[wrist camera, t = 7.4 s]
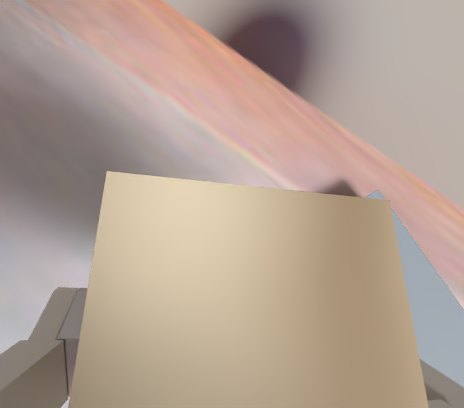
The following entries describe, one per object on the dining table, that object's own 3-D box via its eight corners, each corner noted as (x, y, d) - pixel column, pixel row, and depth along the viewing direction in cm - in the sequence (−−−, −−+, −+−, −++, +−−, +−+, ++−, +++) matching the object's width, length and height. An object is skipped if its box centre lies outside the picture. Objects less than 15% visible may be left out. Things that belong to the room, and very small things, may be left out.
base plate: (256, 262, 25) (268, 255, 22) (357, 201, 29) (378, 189, 26) (371, 459, 22) (402, 480, 19) (466, 359, 26) (502, 364, 23)
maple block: (123, 393, 12) (29, 652, 3) (137, 266, 14) (106, 170, 5) (244, 387, 13) (457, 557, 4) (243, 270, 15) (389, 200, 6)
